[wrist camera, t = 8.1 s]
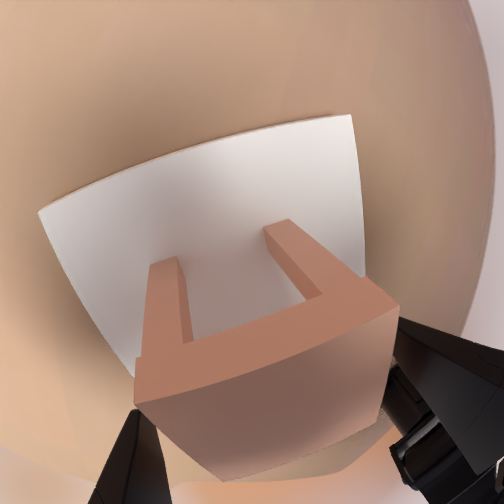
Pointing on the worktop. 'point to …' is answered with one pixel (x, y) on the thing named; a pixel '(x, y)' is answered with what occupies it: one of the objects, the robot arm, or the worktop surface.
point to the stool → (267, 364)
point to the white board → (209, 226)
